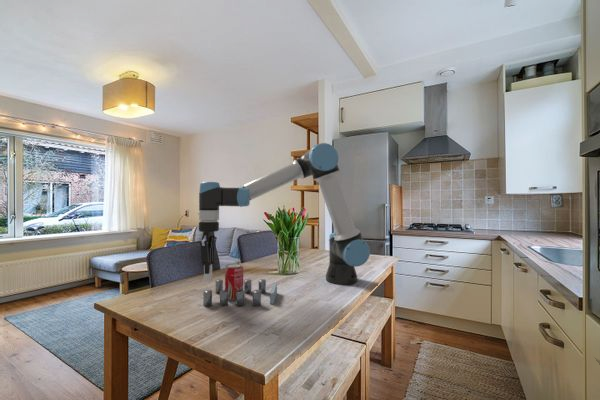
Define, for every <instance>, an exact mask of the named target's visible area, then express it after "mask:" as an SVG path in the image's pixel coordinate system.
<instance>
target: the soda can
mask: <svg viewBox="0 0 600 400" xmlns="http://www.w3.org/2000/svg"><path fill="white" fill-rule="evenodd" d="M224 269H225V270H224V290H228V302H230V301H231V302H234V301H235V302H236V291H238V290H244V267H243V263H237V262H236V263H229V264H228V263H227V264H226V265H225V268H224Z"/></svg>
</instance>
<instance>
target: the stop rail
mask: <svg viewBox="0 0 600 400" xmlns="http://www.w3.org/2000/svg"><path fill="white" fill-rule="evenodd" d="M277 294H278V283H273V284H272V286H271V289H270V291H269V305H274V304H275V302H276V297H277Z"/></svg>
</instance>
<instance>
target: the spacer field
mask: <svg viewBox="0 0 600 400" xmlns="http://www.w3.org/2000/svg"><path fill="white" fill-rule="evenodd" d="M214 282H215V285H214V287H215V290H214V291H215V294H219V306H220V307H224V308H225V307H227V306H229V300H228V290H225V289H224V280H223V279H220V278H219V279H215V281H214ZM266 287H267V280H266V279H263V278H262V279H258V289H256V290H252V279H249V278H247V279H243V290H238V291H236V301H235V302H236V303H235V305H236V307H238V308H239V307H244V306H245V302H246V301H245V297H246V296H245V294H247V295H248V294H251V293H252V306H253V307H256V308H257V307H260V306H261V305H262V294H266V292H267V289H266ZM202 296H203V297H202V299H203V302H202V303H203V304H202V305H203V307H206V308H207V307H211V306H212V305H213V290H212V289H207V290H203V295H202Z"/></svg>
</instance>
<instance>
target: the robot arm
mask: <svg viewBox="0 0 600 400" xmlns="http://www.w3.org/2000/svg"><path fill="white" fill-rule="evenodd" d="M338 163H339V153H338V151H337V149H336V148H335V147H334V146H333V145H331V144H330V143H327V142H322V143H317V144H316V145H315V144H314V145H313V146H311V148H310V149H309V150H308V151H306V152H305V153H304V154H303V155H302V156H300V157H298V158H296V159H294V160H293V162H292V163H290V164H288V165H286V166H283V167H281V168H279V169H277V170H275V171H273V172H270V173H268V174H266V175H263V176H261V177H259V178H256V179H255V180H251V182H248V183H245V184H244V185H240V186H238V187H222V186H220V185H221V184H220V183H219V182H218V181H202V182H200V184H199V193H198V200H199V201H198V204H199V205H198V213H197V214H198V221H199V222H198V231H199V232H202V237H201V240H199V245H200V255H201V266H203V282H204V283H205V282H206V283H207V282H208V283H210V282H212V281H213V265H214V264H215V263H216V262H215V255H216V247H217V245H216V243H217V239H218V237H217V236H216V235H215V233H216V232H218V231H220V222H219V220H220V207H240V208H242V207H249V206H250V201H252V200H254V199H256V198H259V197H261V196H263V195H265V194H267V193H270V192H272V191H274V190H277V189H278V188H280V187H283V186H285V185H288V184H289V183H292V182H293V181H296V180H298V179H301V180H304V179H305V178H308V177H311V176H312V178H313V180H314V181H316V182H317V184H318V185H319V187H320V191H321V194H322V197H323V199H324V203H325V205H326V209H327V210H328V214H329V217H330V219H331V220H330V221H331V222H332V223H331V224H332V225H333V229H334V231H335V232H331V233H330V234H329V240H328V242H329V243H328V245H329V250H328V252H329V257H328V258H329V264H328V267H327V269H326V273H325V281H327V282H329V283H330V284H335V285H352V284H355V283H356V284H357V282H358V275H357V270H356V268H357V267H361V266H363V265H365V264H366V263H367V262H368V260H369V258H370V256H371V250H370V249H371V248H370V246H369V244H368V243H367V241H365V240H364V239H363V236H362V233H361V230H359V229H357V228H356V226H355V223H354V220H353V218H352V214H351V212H350V209H349V205H348V203H347V202H348V201H347V200H346V197H345V194H344V191H343V188H342V185H341V182H340V180H339V174H340V167H339V165H338ZM355 267H356V268H355Z"/></svg>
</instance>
